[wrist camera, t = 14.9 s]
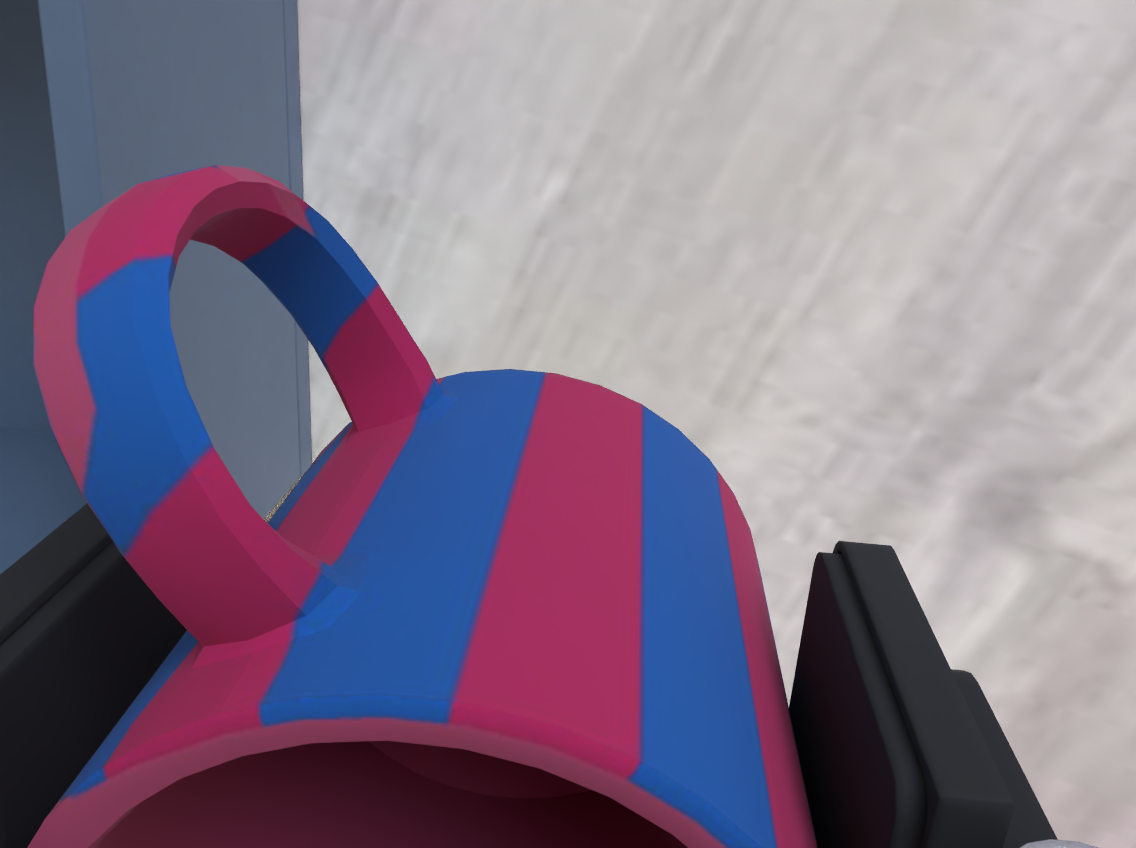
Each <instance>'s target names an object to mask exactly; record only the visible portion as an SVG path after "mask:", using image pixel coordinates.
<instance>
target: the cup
mask: <svg viewBox="0 0 1136 848" xmlns="http://www.w3.org/2000/svg"><path fill="white" fill-rule="evenodd" d="M189 240H194V241H197V242H201V243H205V244H208V245H212V246H215V247H216V248H218V249H220V250H221V251H223V252H225V253H226V254H228V255H230V256H231V257H233V258H235V259H236V260H238V261H240V262H241V263H243V264H244V265H245V266H246V267H247V268H248V269H249V270H250V271H251V272H252V273H253V274H255V275H256V276H257V277H258V278H259V279H260V280H261V281H262V282H263V283H264V284H265V285H266V286H267V288H268V289H269V290H270V291H271V292H272V293H273V294H274V296H275V297H276V298H277V299H278V300H279V301H280V302H281V304H282V305H283V306H284V307H285V308H286V309H287V310H288V312H289V313H290V314H291V315H292V317H293V318H294V320H295V321H296V323H297V324H298V326H299V327H300V328H301V330H302V331H303V333H304V334H305V336H306V337H307V339H308V340H309V341H310V343H311V344H312V346H313V347H314V349H315V351H316V352H317V354H318V356H319V358H320V359H321V361H322V363H323V365H324V366H325V368H326V370H327V372H328V373H329V375H330V377H331V379H332V381H333V383H334V385H335V387H336V389H337V391H338V393H339V395H340V397H341V399H342V401H343V403H344V406H345V408H346V410H347V412H348V414H349V416H350V418H351V420H352V422H350V423H349V424H348V425H347V426H346V427H345V428H344V429H343V430H342V431H341V432H340V433H339V434H338V435H337V436H336V437H335V438H334V439H333V440H332V441H331V442H330V443H329V444H328V445H327V446H326V447H325V448H324V449H323V450H322V452H321V453H320V454H319V455H318V457H317V458H316V459H315V461H314V462H313V463H312V465H311V466H310V467H309V469H308V470H307V471H306V473H305V474H304V475H303V477H302V478H301V479H300V481H299V482H298V483H297V485H296V486H295V487H294V489H293V490H292V491H291V493H290V494H289V495H288V497H287V498H286V499H285V501H284V502H283V503H282V505H281V506H280V507H279V509H278V510H277V511H276V513H275V514H274V515H273V517H272V518H271V519H270V521H269V522H268V523H267V522H266V521H265V520H264V519H263V518H262V517H261V516H260V515H259V514H258V513H257V512H256V511H255V510H254V509H253V507H252V506H251V505H250V504H249V502H248V501H247V499H246V498H245V496H244V495H243V493H242V491H241V490H240V488H239V487H238V485H237V483H236V482H235V480H234V479H233V477H232V476H231V474H230V472H229V471H228V469H227V468H226V466H225V464H224V463H223V461H222V460H221V458H220V457H219V455H218V453H217V452H216V450H215V449H214V446H213V444H212V442H211V440H210V438H209V435H208V433H207V431H206V429H205V426H204V424H203V422H202V420H201V418H200V415H199V413H198V411H197V409H196V406H195V404H194V402H193V400H192V398H191V395H190V393H189V391H188V389H187V386H186V383H185V379H184V375H183V372H182V368H181V364H180V360H179V356H178V353H177V349H176V345H175V341H174V338H173V334H172V330H171V325H170V297H169V293H170V289H171V285H172V281H173V278H174V274H175V270H176V266H177V263H178V259H179V256H180V254H181V253H182V251H183V249H184V248H185V246H186V245H187V243H188V242H189ZM33 365H34V368H35V372H36V376H37V379H38V383H39V387H40V390H41V394H42V398H43V402H44V405H45V409H46V413H47V416H48V420H49V424H50V427H51V431H52V435H53V437H54V439H55V441H56V443H57V445H58V447H59V449H60V451H61V453H62V455H63V457H64V459H65V461H66V463H67V466H68V468H69V470H70V472H71V474H72V476H73V478H74V480H75V482H76V484H77V486H78V488H79V490H80V492H81V494H82V496H83V497H84V499H85V500H86V502H87V503H88V505H89V506H90V508H91V509H92V510H93V512H94V513H95V515H96V516H97V518H98V519H99V521H100V522H101V524H102V525H103V527H104V528H105V529H106V531H107V532H108V534H109V535H110V537H111V539H112V540H113V542H114V543H115V545H116V546H117V548H118V549H119V551H120V552H121V554H122V555H123V556H124V558H125V559H126V560H127V561H128V562H129V564H130V565H131V566H132V567H133V569H134V570H135V571H136V572H137V573H138V575H139V576H140V577H141V578H142V580H143V581H144V582H145V583H146V584H147V586H148V587H149V588H150V589H151V590H152V592H153V593H154V594H155V595H156V597H157V598H158V599H159V600H160V601H161V602H162V603H163V605H164V606H165V607H166V608H167V609H168V610H169V611H170V612H171V613H172V614H173V615H174V616H175V617H176V619H177V620H178V621H179V622H180V623H181V624H182V625H183V626H184V627H185V628H186V629H187V631H186V632H185V634H184V635H183V636H182V638H181V639H180V640H179V642H178V643H177V644H176V646H175V647H174V648H173V650H172V651H171V652H170V654H169V655H168V656H167V658H166V659H165V660H164V662H163V663H162V664H161V665H160V667H159V668H158V669H157V671H156V672H155V673H154V675H153V676H152V677H151V679H150V680H149V681H148V683H147V684H146V685H145V687H144V688H143V689H142V691H141V692H140V693H139V695H138V696H137V697H136V699H135V700H134V701H133V703H132V704H131V705H130V707H129V708H128V709H127V711H126V712H125V713H124V715H123V716H122V717H121V719H120V720H119V721H118V723H117V724H116V725H115V727H114V728H113V729H112V731H111V732H110V733H109V735H108V736H107V737H106V739H105V740H104V741H103V743H102V744H101V745H100V747H99V748H98V749H97V751H96V752H95V753H94V755H93V756H92V757H91V759H90V760H89V761H88V763H87V764H86V765H85V767H84V768H83V769H82V771H81V772H80V773H79V775H78V776H77V777H76V779H75V780H74V781H73V783H72V784H71V785H70V786H69V788H68V789H67V790H66V792H65V793H64V794H63V796H62V797H61V798H60V800H59V801H58V802H57V804H56V805H55V806H54V808H53V809H52V810H51V812H50V813H49V814H48V816H47V817H46V818H45V820H44V821H43V823H42V825H41V826H40V828H39V830H38V831H37V833H36V834H35V836H34V838H33V839H32V841H31V842H30V844H29V846H28V847H27V848H818V846H817V841H816V836H815V831H814V827H813V822H812V817H811V812H810V808H809V803H808V798H807V793H806V788H805V784H804V779H803V774H802V769H801V765H800V760H799V755H798V750H797V745H796V741H795V736H794V731H793V726H792V722H791V717H790V712H789V707H788V702H787V698H786V693H785V688H784V683H783V679H782V674H781V669H780V664H779V659H778V655H777V650H776V645H775V640H774V636H773V631H772V626H771V621H770V616H769V612H768V607H767V602H766V597H765V593H764V588H763V583H762V578H761V573H760V569H759V564H758V560H757V556H756V552H755V547H754V543H753V539H752V535H751V531H750V528H749V526H748V523H747V521H746V519H745V517H744V515H743V513H742V510H741V508H740V506H739V504H738V502H737V500H736V497H735V495H734V493H733V492H732V490H731V489H730V487H729V486H728V485H727V483H726V482H725V480H724V479H723V478H722V476H721V475H720V473H719V472H718V471H717V469H716V468H715V466H714V465H713V464H712V462H711V461H710V459H709V458H708V457H707V456H705V455H704V454H703V453H702V452H701V451H700V450H699V449H698V448H697V447H696V446H695V445H694V444H693V443H692V442H691V441H690V440H689V439H688V438H687V437H686V436H685V435H684V434H683V433H682V432H681V431H680V430H679V429H677V428H676V427H674V426H673V425H671V424H670V423H668V422H667V421H665V420H664V419H662V418H661V417H660V416H658V415H657V414H655V413H654V412H652V411H651V410H649V409H648V408H646V407H645V406H643V405H642V404H640V403H638V402H635V401H633V400H631V399H629V398H627V397H624V396H622V395H620V394H618V393H616V392H613V391H611V390H609V389H607V388H604V387H602V386H600V385H596V384H593V383H589V382H585V381H582V380H578V379H574V378H570V377H567V376H563V375H559V374H555V373H545V372H534V371H524V370H513V369H505V370H490V371H476V372H464V373H460V374H456V375H452V376H447V377H443V378H439V379H436V378H435V376H434V374H433V372H432V370H431V368H430V366H429V364H428V362H427V360H426V358H425V357H424V355H423V354H422V352H421V351H420V349H419V348H418V346H417V345H416V343H415V342H414V340H413V338H412V337H411V335H410V334H409V332H408V330H407V329H406V327H405V326H404V324H403V322H402V321H401V319H400V318H399V316H398V315H397V313H396V311H395V310H394V308H393V307H392V305H391V303H390V302H389V300H388V299H387V297H386V296H385V294H384V292H383V291H382V289H381V288H380V286H379V285H378V283H377V281H376V280H375V279H374V277H373V276H372V275H371V273H370V272H369V271H368V269H367V268H366V267H365V265H364V264H363V262H362V261H361V260H360V258H359V257H358V256H357V254H356V253H355V252H354V250H353V249H352V248H351V247H350V246H349V244H348V243H347V242H346V241H345V240H344V239H343V238H342V236H341V235H340V234H339V233H338V232H337V231H336V230H335V229H334V227H333V226H332V225H331V224H330V223H329V222H328V221H327V220H326V219H325V218H324V217H323V216H321V215H320V214H319V213H318V212H316V211H315V210H314V209H313V208H312V207H310V206H309V205H308V204H307V203H305V202H304V201H303V200H302V199H300V198H299V197H298V196H297V195H296V194H294V193H293V192H292V191H291V190H289V189H288V188H287V187H286V186H284V185H283V184H282V183H280V182H279V181H277V180H274V179H272V178H270V177H267V176H265V175H262V174H260V173H258V172H255V171H253V170H250V169H248V168H242V167H231V166H220V165H213V166H208V167H203V168H198V169H194V170H189V171H184V172H179V173H175V174H170V175H166V176H163V177H160V178H156V179H153V180H150V181H146V182H143V183H140V184H137V185H135V186H134V187H132V188H131V189H129V190H127V191H126V192H124V193H123V194H121V195H120V196H118V197H117V198H115V199H114V200H112V201H111V202H109V203H108V204H106V205H104V206H103V207H101V208H100V209H98V210H97V211H96V212H94V213H93V214H92V215H90V216H89V217H88V218H86V219H85V220H84V221H82V222H81V223H80V224H78V225H77V226H76V227H74V228H73V229H72V230H70V232H69V233H68V235H67V236H66V237H65V239H64V240H63V242H62V243H61V244H60V246H59V247H58V249H57V250H56V251H55V253H54V254H53V256H52V257H51V258H50V260H49V261H48V263H47V266H46V269H45V272H44V276H43V279H42V282H41V285H40V289H39V292H38V295H37V299H36V302H35V305H34V352H33Z"/></svg>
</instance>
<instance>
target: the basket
mask: <svg viewBox="0 0 1136 848" xmlns="http://www.w3.org/2000/svg"><path fill="white" fill-rule="evenodd" d="M213 165H220V166H231V167H242V168H248V169H250V170H253V171H255V172H258V173H260V174H262V175H265V176H267V177H270V178H272V179H274V180H277V181H279V182H280V183H282V184H283V185H284V186H286V187H287V188H288V189H289V190H291V191H292V192H293V193H294V194H296V195H297V196H298V197H299V198H300V199H302V200H303V177H302V146H301V115H300V85H299V54H298V23H297V0H0V574H2V573H3V572H4V571H5V570H6V569H8V568H9V567H10V566H11V565H12V564H14V563H15V562H16V561H17V560H19V559H20V558H21V557H22V556H23V555H25V554H26V553H27V552H28V551H30V550H31V549H32V548H33V547H34V546H36V545H37V544H38V543H39V542H40V541H42V540H43V539H44V538H45V537H47V536H48V535H49V534H50V533H51V532H53V531H54V530H55V529H56V528H58V527H59V526H60V525H61V524H62V523H64V522H65V521H66V520H67V519H68V518H70V517H71V516H72V515H73V514H75V513H76V512H77V511H78V510H79V509H81V508H82V507H83V506H84V505H86V504H87V502H86V500H85V499H84V497H83V496H82V494H81V492H80V490H79V488H78V486H77V484H76V482H75V480H74V478H73V476H72V474H71V472H70V470H69V468H68V466H67V463H66V461H65V459H64V457H63V455H62V453H61V451H60V449H59V447H58V445H57V443H56V441H55V439H54V437H53V435H52V431H51V427H50V424H49V420H48V416H47V413H46V409H45V405H44V402H43V398H42V394H41V390H40V387H39V383H38V379H37V376H36V372H35V368H34V365H33V352H34V305H35V302H36V299H37V295H38V292H39V289H40V285H41V282H42V279H43V276H44V272H45V269H46V266H47V263H48V261H49V260H50V258H51V257H52V256H53V254H54V253H55V251H56V250H57V249H58V247H59V246H60V244H61V243H62V242H63V240H64V239H65V237H66V236H67V235H68V233H69V232H70V230H72V229H73V228H74V227H76V226H77V225H78V224H80V223H81V222H82V221H84V220H85V219H86V218H88V217H89V216H90V215H92V214H93V213H94V212H96V211H97V210H98V209H100V208H101V207H103V206H104V205H106V204H108V203H109V202H111V201H112V200H114V199H115V198H117V197H118V196H120V195H121V194H123V193H124V192H126V191H127V190H129V189H131V188H132V187H134V186H135V185H137V184H140V183H143V182H146V181H150V180H153V179H156V178H160V177H163V176H166V175H170V174H175V173H179V172H184V171H189V170H194V169H198V168H203V167H208V166H213ZM169 297H170V325H171V330H172V334H173V338H174V341H175V345H176V349H177V353H178V356H179V360H180V364H181V368H182V372H183V375H184V379H185V383H186V386H187V389H188V391H189V393H190V395H191V398H192V400H193V402H194V404H195V406H196V409H197V411H198V413H199V415H200V418H201V420H202V422H203V424H204V426H205V429H206V431H207V433H208V435H209V438H210V440H211V442H212V444H213V446H214V449H215V450H216V452H217V453H218V455H219V457H220V458H221V460H222V461H223V463H224V464H225V466H226V468H227V469H228V471H229V472H230V474H231V476H232V477H233V479H234V480H235V482H236V483H237V485H238V487H239V488H240V490H241V491H242V493H243V495H244V496H245V498H246V499H247V501H248V502H249V504H250V505H251V506H252V507H253V509H254V510H255V511H256V512H257V513H258V514H259V515H260V516H261V517H262V518H263V519H264V518H265V517H266V516H267V515H268V514H269V512H270V511H271V510H272V509H273V508H274V507H275V506H276V504H277V503H278V502H279V501H280V500H281V499H282V498H283V496H284V495H285V494H286V493H287V492H288V491H289V490H290V488H291V487H292V486H293V485H294V484H295V483H296V482H297V480H298V479H299V478H300V477H301V476H302V475H303V474H304V473H305V472H306V470H307V469H308V468H309V467H310V466H311V464H312V454H311V423H310V392H309V362H308V339H307V337H306V336H305V334H304V333H303V331H302V330H301V328H300V327H299V326H298V324H297V323H296V321H295V320H294V318H293V317H292V315H291V314H290V313H289V312H288V310H287V309H286V308H285V307H284V306H283V305H282V304H281V302H280V301H279V300H278V299H277V298H276V297H275V296H274V294H273V293H272V292H271V291H270V290H269V289H268V288H267V286H266V285H265V284H264V283H263V282H262V281H261V280H260V279H259V278H258V277H257V276H256V275H255V274H253V273H252V272H251V271H250V270H249V269H248V268H247V267H246V266H245V265H244V264H243V263H241V262H240V261H238V260H236V259H235V258H233V257H231V256H230V255H228V254H226V253H225V252H223V251H221V250H220V249H218V248H216V247H215V246H212V245H208V244H205V243H201V242H197V241H194V240H189V242H188V243H187V245H186V246H185V248H184V249H183V251H182V253H181V254H180V256H179V259H178V263H177V266H176V270H175V274H174V278H173V281H172V285H171V289H170V293H169Z"/></svg>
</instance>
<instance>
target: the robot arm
mask: <svg viewBox="0 0 1136 848" xmlns="http://www.w3.org/2000/svg"><path fill="white" fill-rule="evenodd" d="M186 631H187V629H186V628H185V627H184V626H183V625H182V624H181V623H180V622H179V621H178V620H177V619H176V617H175V616H174V615H173V614H172V613H171V612H170V611H169V610H168V609H167V608H166V607H165V606H164V605H163V603H162V602H161V601H160V600H159V599H158V598H157V597H156V595H155V594H154V593H153V592H152V590H151V589H150V588H149V587H148V586H147V584H146V583H145V582H144V581H143V580H142V578H141V577H140V576H139V575H138V573H137V572H136V571H135V570H134V569H133V567H132V566H131V565H130V564H129V562H128V561H127V560H126V559H125V558H124V556H123V555H122V554H121V552H120V551H119V549H118V548H117V546H116V545H115V543H114V542H113V540H112V539H111V537H110V535H109V534H108V532H107V531H106V529H105V528H104V527H103V525H102V524H101V522H100V521H99V519H98V518H97V516H96V515H95V513H94V512H93V510H92V509H91V508H90V506H89V505H88V503H87V504H86V505H84V506H83V507H82V508H81V509H79V510H78V511H77V512H76V513H75V514H73V515H72V516H71V517H70V518H68V519H67V520H66V521H65V522H64V523H62V524H61V525H60V526H59V527H58V528H56V529H55V530H54V531H53V532H51V533H50V534H49V535H48V536H47V537H45V538H44V539H43V540H42V541H40V542H39V543H38V544H37V545H36V546H34V547H33V548H32V549H31V550H30V551H28V552H27V553H26V554H25V555H23V556H22V557H21V558H20V559H19V560H17V561H16V562H15V563H14V564H12V565H11V566H10V567H9V568H8V569H6V570H5V571H4V572H3V573H2V574H0V848H27V847H28V846H29V844H30V842H31V841H32V839H33V838H34V836H35V834H36V833H37V831H38V830H39V828H40V826H41V825H42V823H43V821H44V820H45V818H46V817H47V816H48V814H49V813H50V812H51V810H52V809H53V808H54V806H55V805H56V804H57V802H58V801H59V800H60V798H61V797H62V796H63V794H64V793H65V792H66V790H67V789H68V788H69V786H70V785H71V784H72V783H73V781H74V780H75V779H76V777H77V776H78V775H79V773H80V772H81V771H82V769H83V768H84V767H85V765H86V764H87V763H88V761H89V760H90V759H91V757H92V756H93V755H94V753H95V752H96V751H97V749H98V748H99V747H100V745H101V744H102V743H103V741H104V740H105V739H106V737H107V736H108V735H109V733H110V732H111V731H112V729H113V728H114V727H115V725H116V724H117V723H118V721H119V720H120V719H121V717H122V716H123V715H124V713H125V712H126V711H127V709H128V708H129V707H130V705H131V704H132V703H133V701H134V700H135V699H136V697H137V696H138V695H139V693H140V692H141V691H142V689H143V688H144V687H145V685H146V684H147V683H148V681H149V680H150V679H151V677H152V676H153V675H154V673H155V672H156V671H157V669H158V668H159V667H160V665H161V664H162V663H163V662H164V660H165V659H166V658H167V656H168V655H169V654H170V652H171V651H172V650H173V648H174V647H175V646H176V644H177V643H178V642H179V640H180V639H181V638H182V636H183V635H184V634H185V632H186ZM789 712H790V717H791V722H792V726H793V731H794V736H795V741H796V745H797V750H798V755H799V760H800V765H801V769H802V774H803V779H804V784H805V788H806V793H807V798H808V803H809V808H810V812H811V817H812V822H813V827H814V831H815V836H816V841H817V846H818V848H1098V847H1095V846H1091V845H1088V844H1085V843H1081V842H1075V841H1065V840H1058V839H1057V837H1056V835H1055V833H1054V831H1053V829H1052V828H1051V826H1050V824H1049V822H1048V820H1047V818H1046V816H1045V814H1044V812H1043V810H1042V808H1041V806H1040V804H1039V802H1038V800H1037V798H1036V796H1035V794H1034V792H1033V790H1032V788H1031V786H1030V784H1029V782H1028V780H1027V778H1026V776H1025V774H1024V772H1023V770H1022V768H1021V766H1020V765H1019V763H1018V761H1017V759H1016V757H1015V755H1014V753H1013V751H1012V749H1011V747H1010V745H1009V743H1008V741H1007V739H1006V737H1005V735H1004V733H1003V731H1002V729H1001V727H1000V725H999V723H998V721H997V719H996V717H995V715H994V713H993V711H992V709H991V707H990V705H989V703H988V702H987V700H986V698H985V696H984V694H983V692H982V690H981V688H980V686H979V684H978V682H977V681H976V679H975V678H974V677H973V675H972V674H971V673H969V672H966V671H962V670H952V669H950V667H949V665H948V663H947V660H946V658H945V656H944V654H943V652H942V650H941V648H940V646H939V644H938V642H937V639H936V637H935V635H934V633H933V631H932V629H931V627H930V625H929V623H928V620H927V618H926V616H925V614H924V612H923V610H922V608H921V606H920V604H919V602H918V599H917V597H916V595H915V593H914V591H913V589H912V587H911V585H910V583H909V581H908V578H907V576H906V574H905V572H904V570H903V568H902V566H901V564H900V562H899V559H898V557H897V555H896V553H895V551H894V549H893V548H892V547H891V546H888V545H877V544H866V543H855V542H844V541H838V542H837V544H836V545H835V548H834V551H833V553H822V552H819V553H818V554H817V556H816V559H815V562H814V567H813V572H812V578H811V584H810V590H809V596H808V601H807V607H806V613H805V619H804V625H803V630H802V636H801V642H800V648H799V653H798V659H797V665H796V671H795V677H794V682H793V688H792V694H791V700H790V705H789Z"/></svg>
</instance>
